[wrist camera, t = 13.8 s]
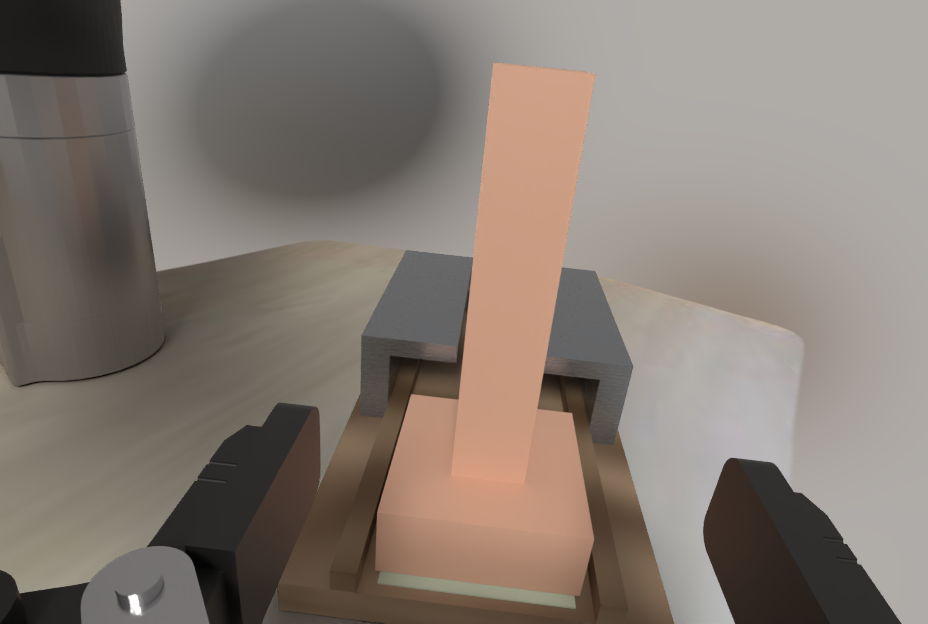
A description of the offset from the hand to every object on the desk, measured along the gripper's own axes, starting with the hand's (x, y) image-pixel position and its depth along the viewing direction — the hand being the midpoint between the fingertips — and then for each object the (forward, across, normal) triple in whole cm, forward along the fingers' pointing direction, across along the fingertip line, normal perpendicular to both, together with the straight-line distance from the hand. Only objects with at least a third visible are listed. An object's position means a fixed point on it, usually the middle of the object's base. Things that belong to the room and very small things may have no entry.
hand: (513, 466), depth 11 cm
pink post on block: (+11, 0, +11) cm, 16 cm away
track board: (+24, 0, +13) cm, 27 cm away
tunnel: (+24, 0, +12) cm, 26 cm away
